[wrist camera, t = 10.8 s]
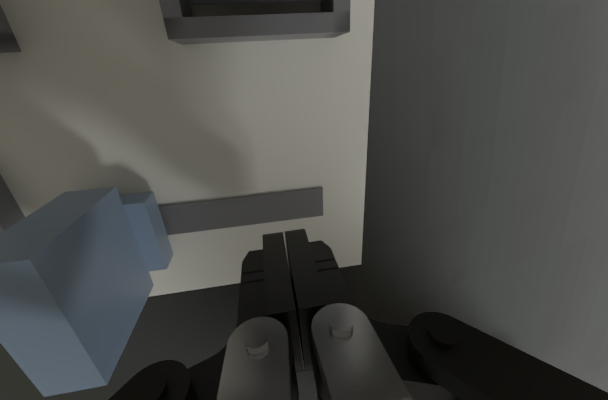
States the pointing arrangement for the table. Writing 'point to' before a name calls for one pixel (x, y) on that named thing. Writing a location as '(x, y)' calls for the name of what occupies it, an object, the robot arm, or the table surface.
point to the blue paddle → (78, 284)
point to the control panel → (192, 120)
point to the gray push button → (242, 1)
